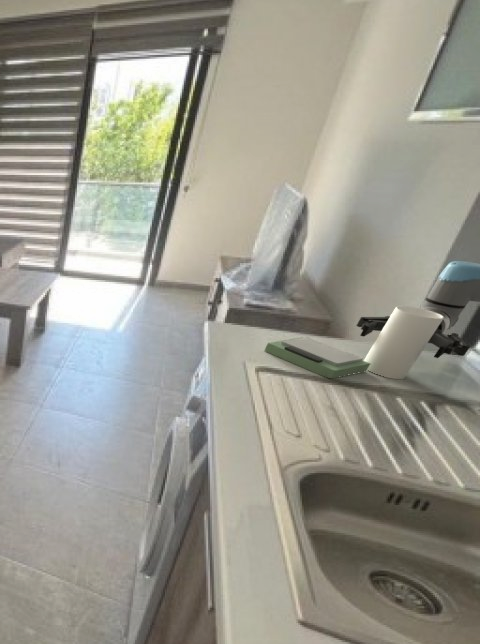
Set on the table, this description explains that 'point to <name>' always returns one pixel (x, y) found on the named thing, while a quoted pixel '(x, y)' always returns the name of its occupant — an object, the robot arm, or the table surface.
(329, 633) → the table surface
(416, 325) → the cup
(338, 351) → the scale
